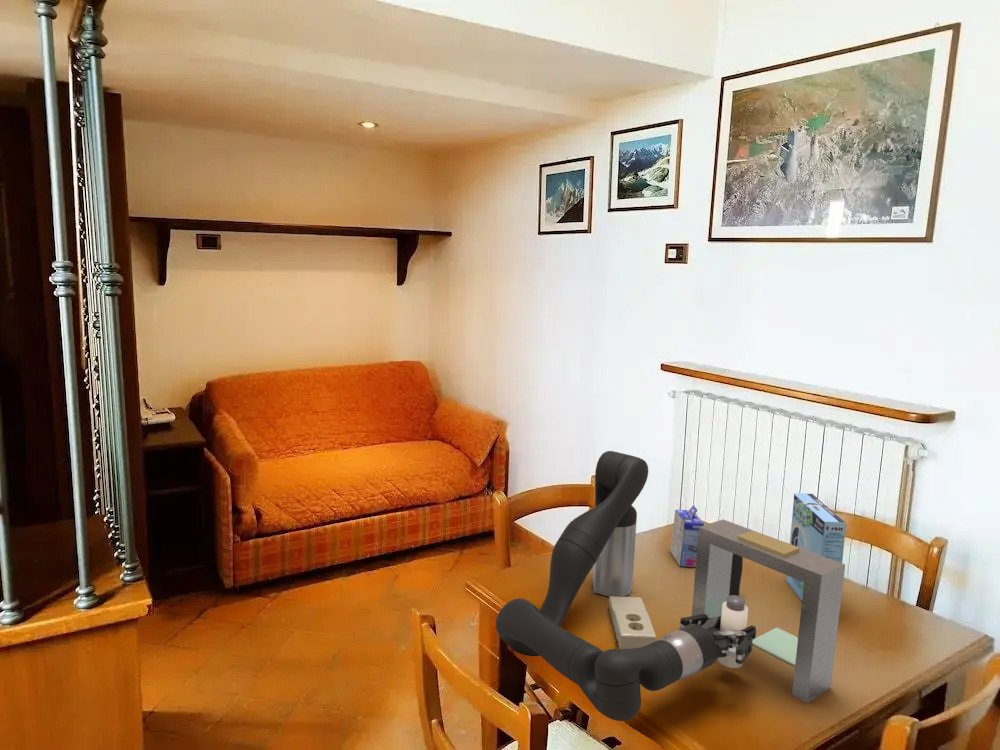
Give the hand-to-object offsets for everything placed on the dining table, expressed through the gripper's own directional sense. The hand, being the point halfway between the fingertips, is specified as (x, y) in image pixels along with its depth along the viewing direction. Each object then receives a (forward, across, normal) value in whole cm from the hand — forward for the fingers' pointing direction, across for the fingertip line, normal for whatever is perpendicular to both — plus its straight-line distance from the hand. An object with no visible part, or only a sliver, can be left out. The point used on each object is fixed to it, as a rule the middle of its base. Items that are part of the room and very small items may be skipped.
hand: (741, 625), depth 133 cm
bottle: (-3, 0, -6) cm, 7 cm away
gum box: (+40, -8, -10) cm, 42 cm away
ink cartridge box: (+33, -39, -10) cm, 52 cm away
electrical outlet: (-5, -23, -10) cm, 26 cm away
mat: (+16, 0, -10) cm, 19 cm away
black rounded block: (+25, -21, -10) cm, 34 cm away
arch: (+6, 0, -10) cm, 12 cm away
